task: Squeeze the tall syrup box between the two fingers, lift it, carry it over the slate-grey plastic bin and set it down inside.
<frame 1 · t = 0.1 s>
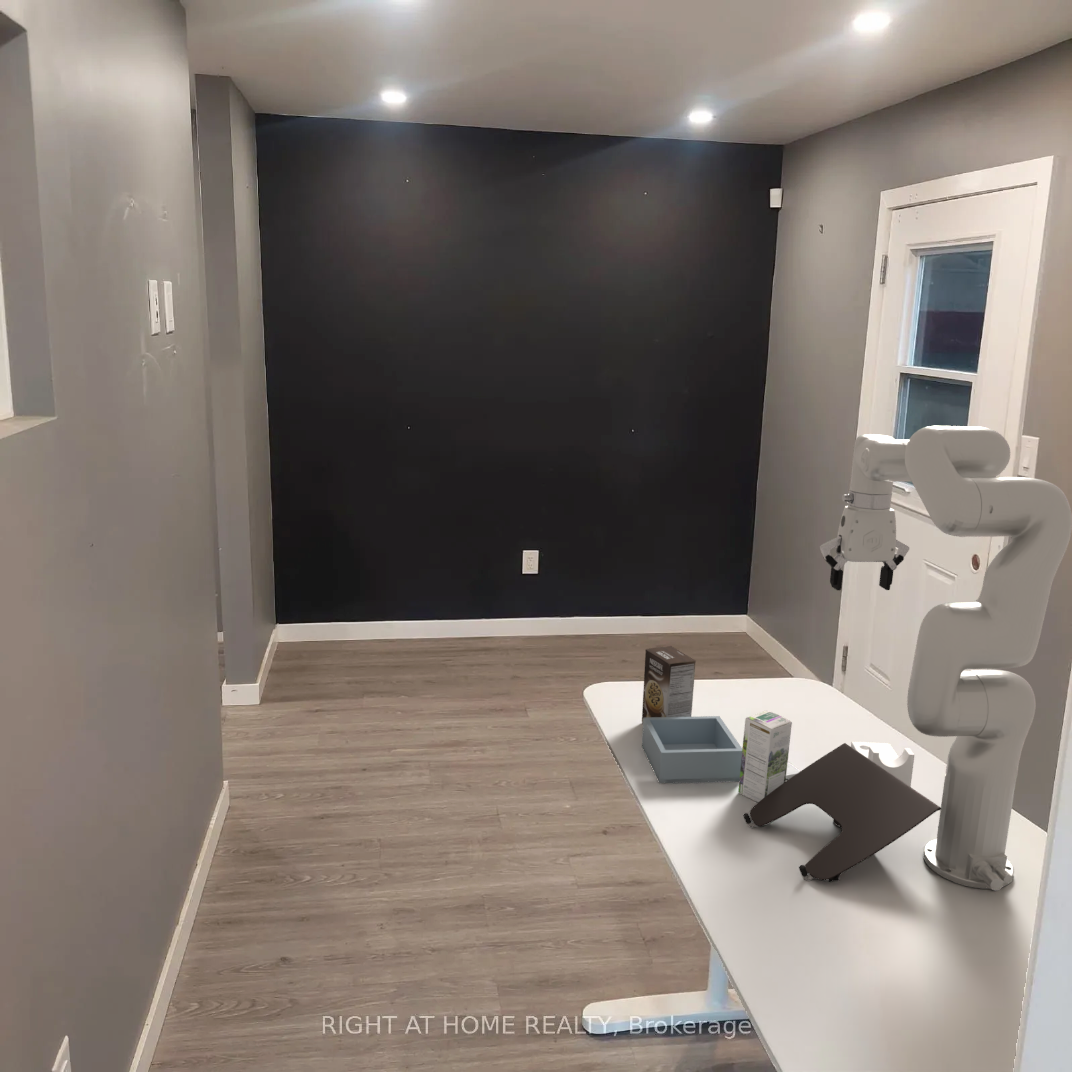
hand: (860, 588, 181), 31 cm above the table, tool pointing down, fingers open, 9 cm apart
bin: (689, 763, 176), on the table
coffee box: (665, 730, 191), on the table
bracket: (878, 776, 174), on the table
portable electronic device stand: (827, 844, 151), on the table
external hard drive: (764, 769, 177), on the table
syrup box: (761, 796, 165), on the table
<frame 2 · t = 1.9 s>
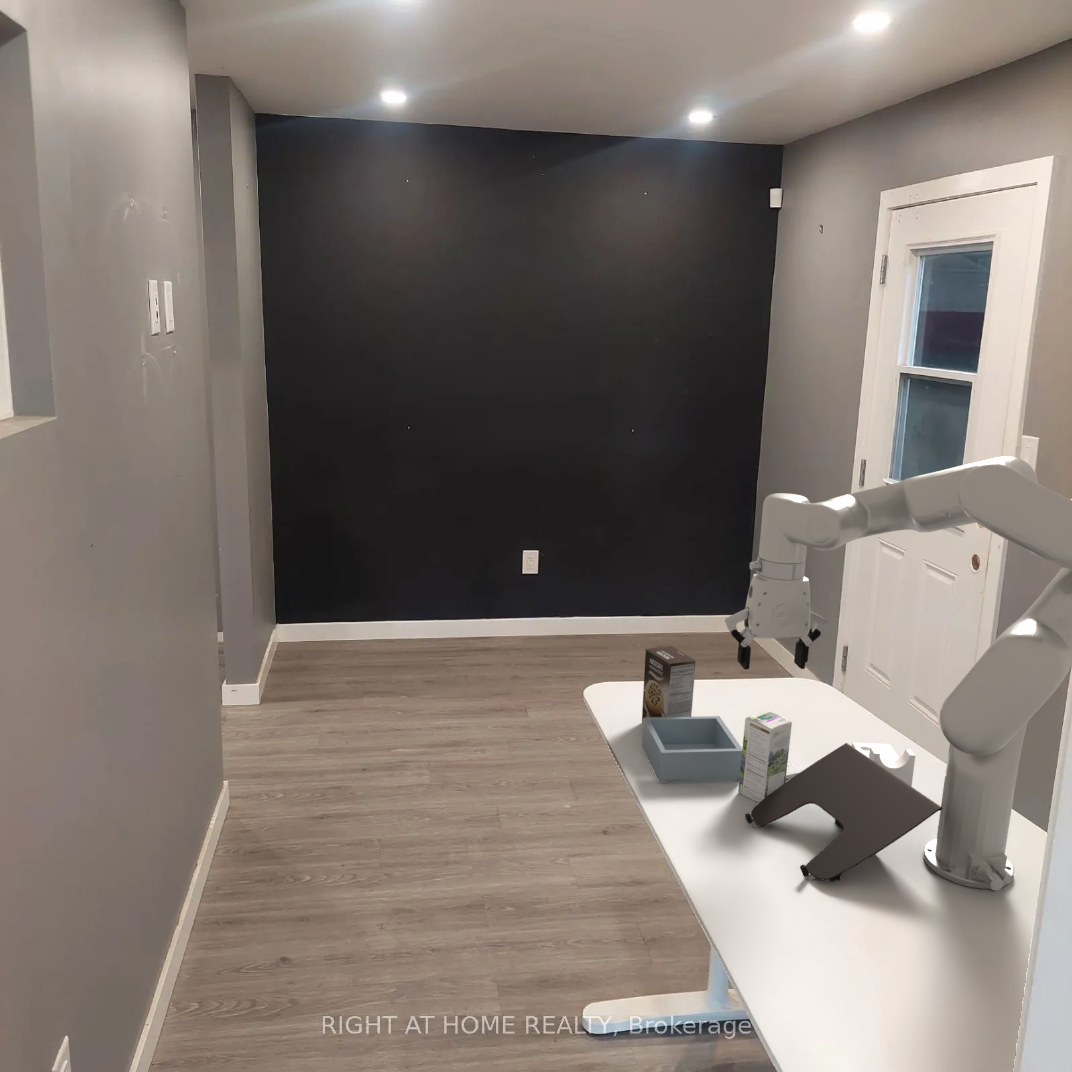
hand: (771, 666, 160), 24 cm above the table, tool pointing down, fingers open, 9 cm apart
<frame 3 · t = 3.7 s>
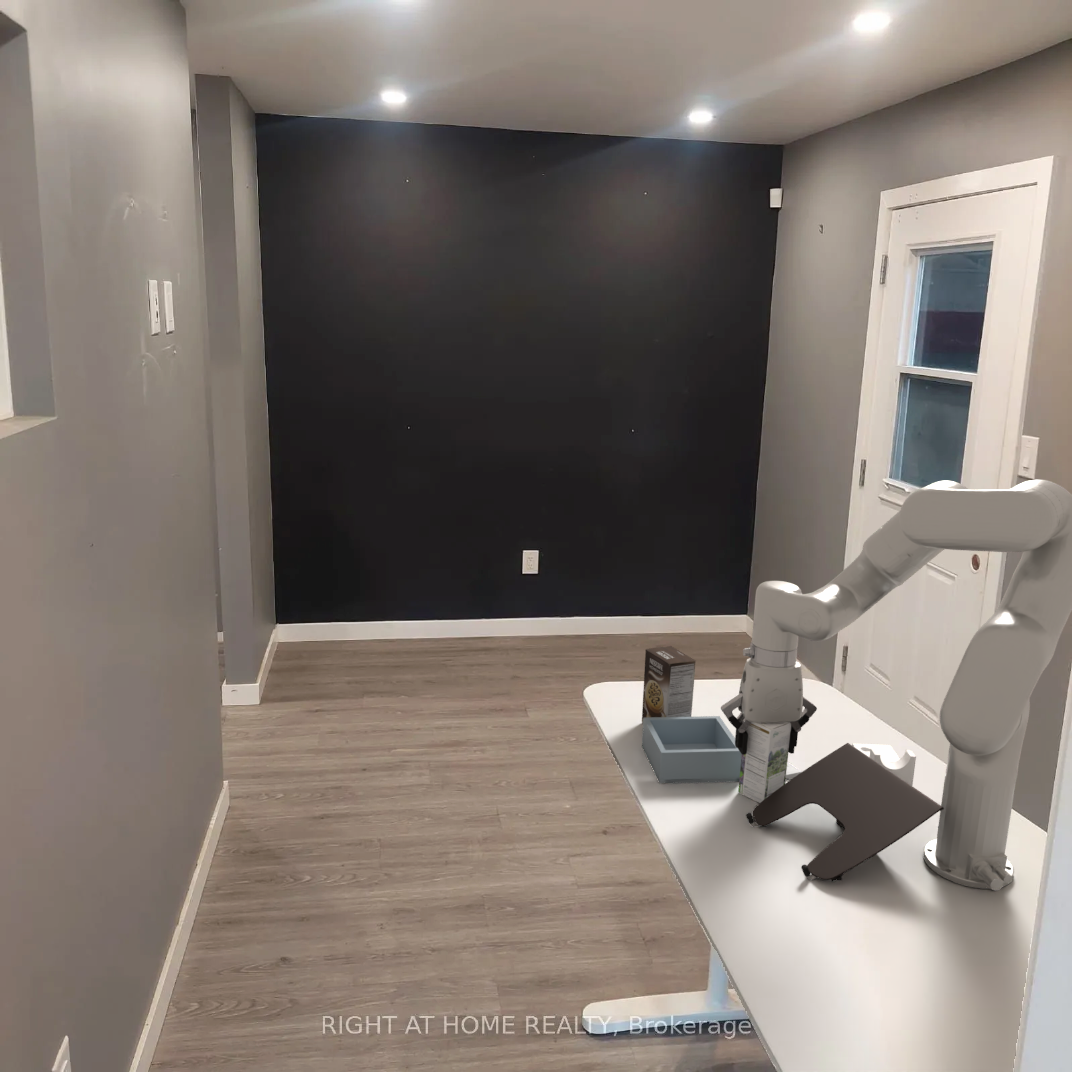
hand: (765, 750, 163), 8 cm above the table, tool pointing down, fingers closed on syrup box, 7 cm apart
syrup box: (761, 796, 165), on the table, touching gripper
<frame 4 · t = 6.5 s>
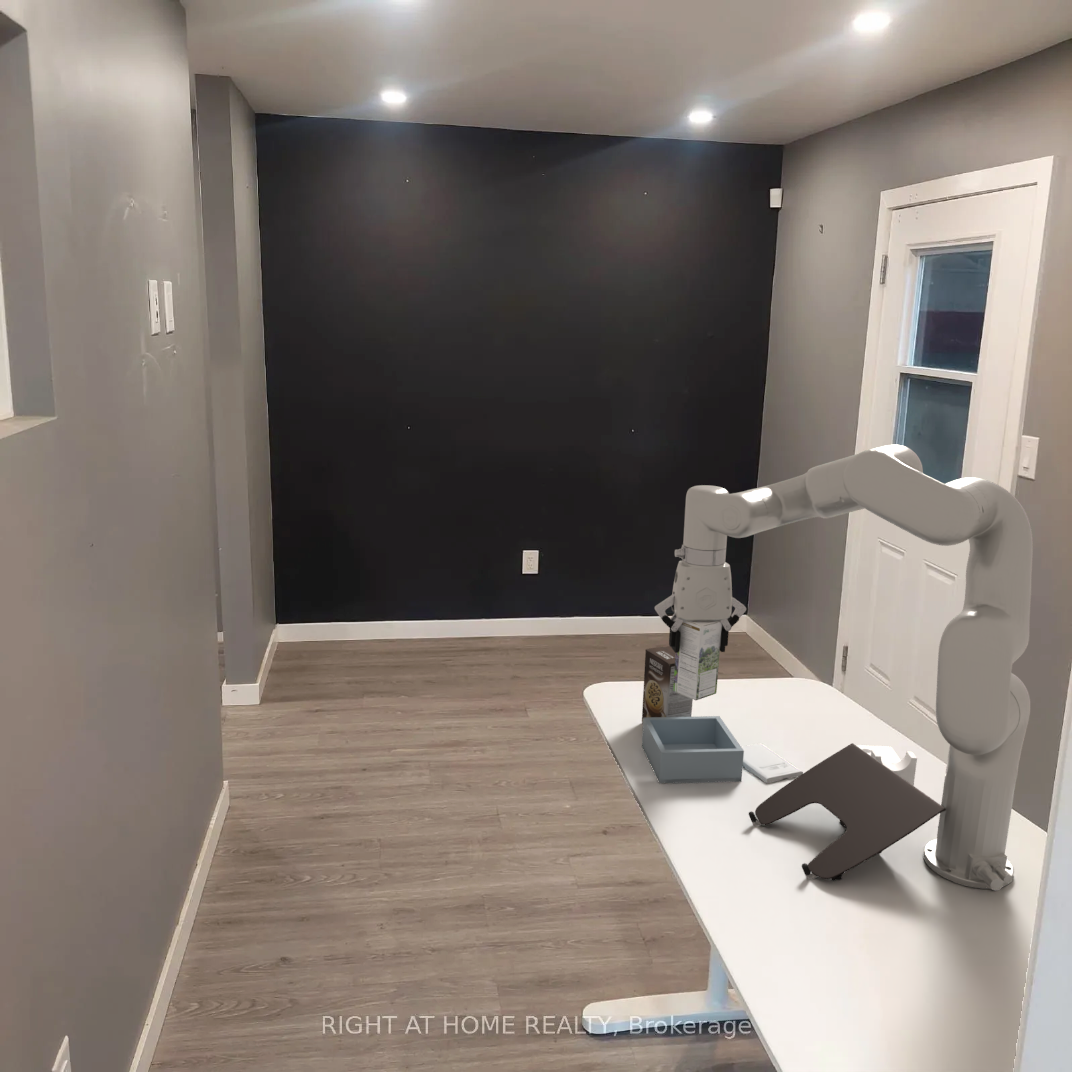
hand: (697, 649, 171), 22 cm above the table, tool pointing down, fingers closed on syrup box, 7 cm apart
syrup box: (695, 694, 173), point 14 cm above the table, touching gripper
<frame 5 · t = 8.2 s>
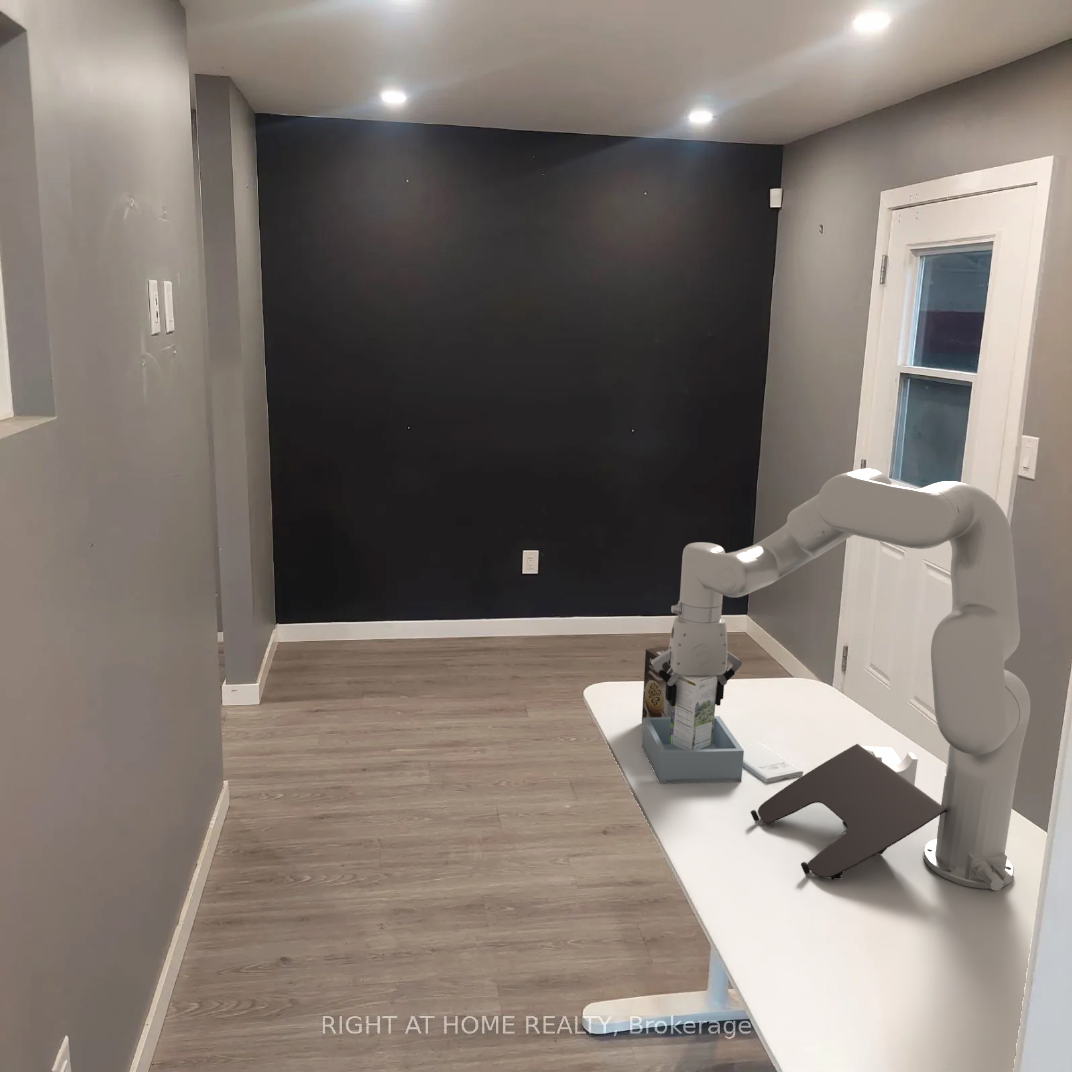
hand: (693, 702, 174), 12 cm above the table, tool pointing down, fingers closed on syrup box, 7 cm apart
syrup box: (690, 746, 176), point 3 cm above the table, touching gripper
when the fingers open (10 cm above the table, at t = 9.4 s): syrup box stays where it is, resting on bin.
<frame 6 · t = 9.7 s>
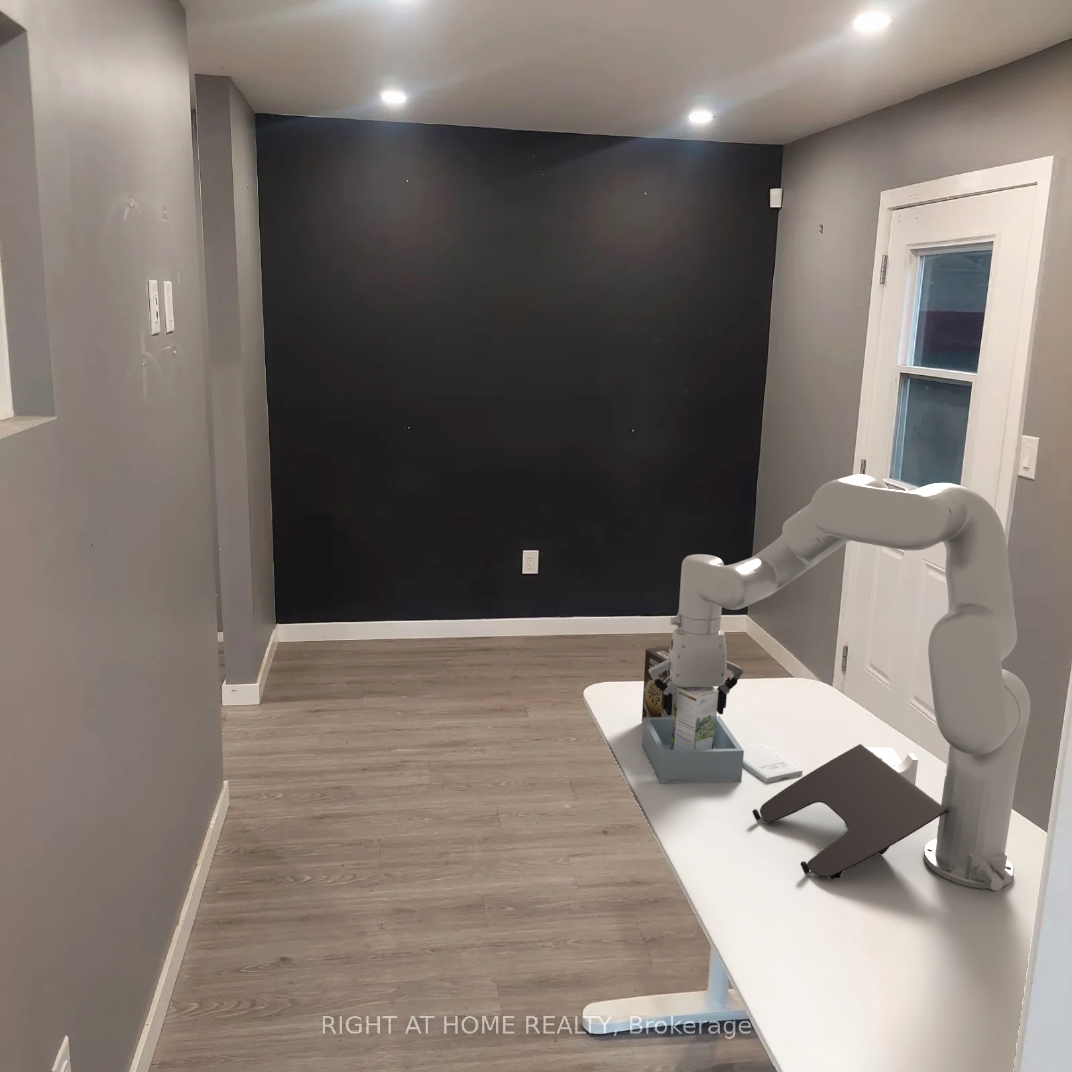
hand: (693, 711, 174), 10 cm above the table, tool pointing down, fingers open, 9 cm apart
syrup box: (691, 760, 176), point 1 cm above the table, touching bin
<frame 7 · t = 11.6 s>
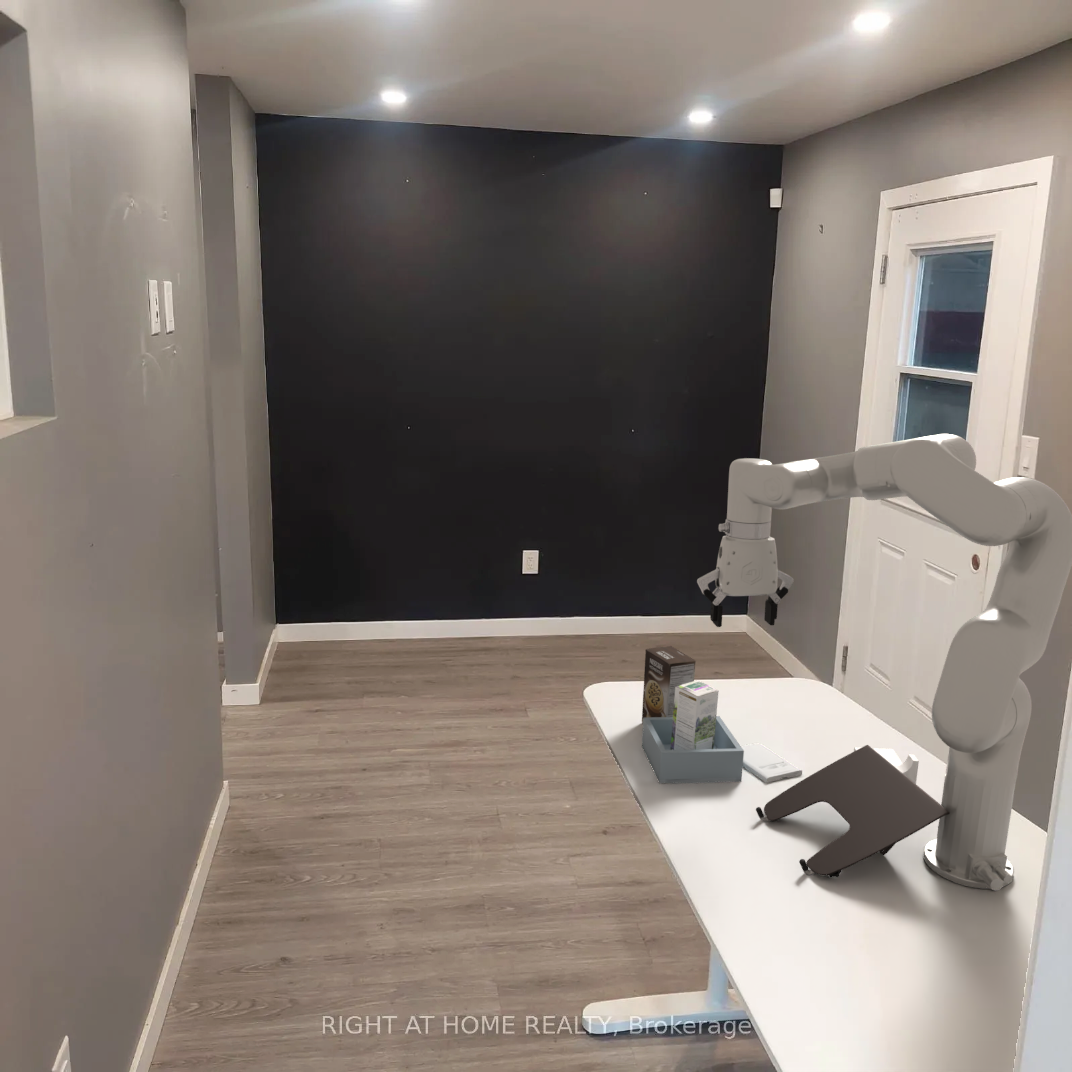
hand: (743, 624, 168), 28 cm above the table, tool pointing down, fingers open, 9 cm apart
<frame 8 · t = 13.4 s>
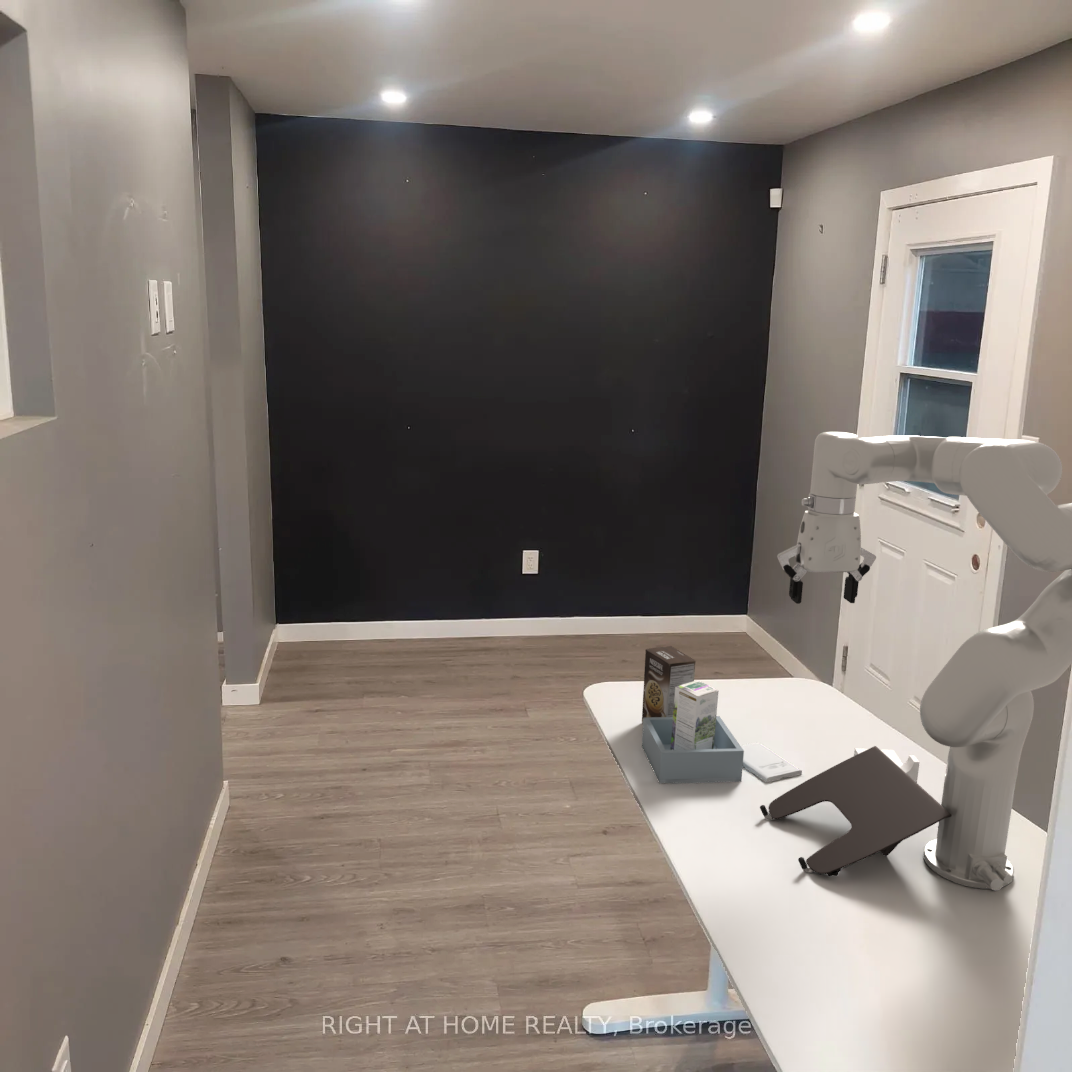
hand: (822, 601, 165), 33 cm above the table, tool pointing down, fingers open, 9 cm apart
at the end: syrup box inside the target area on the bin (0.3 cm from its centre), point 0.6 cm above the bin's base; the gripper is holding nothing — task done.
